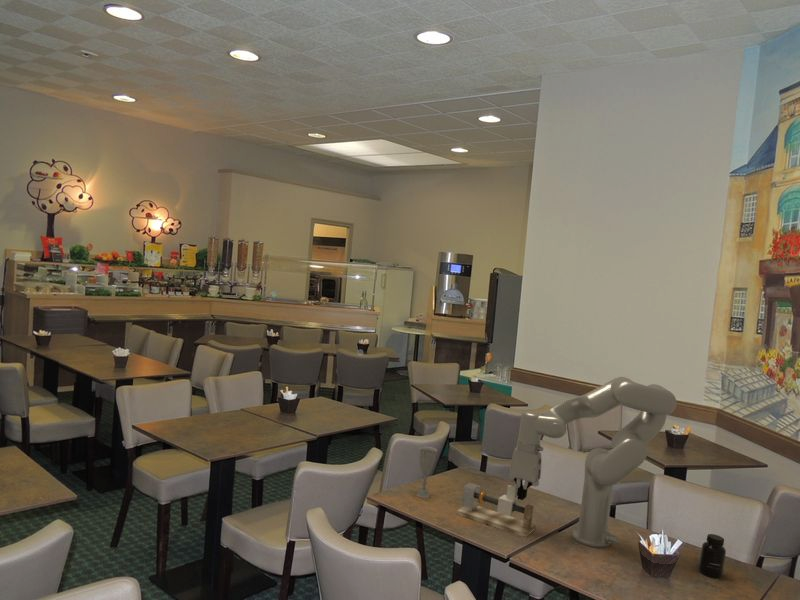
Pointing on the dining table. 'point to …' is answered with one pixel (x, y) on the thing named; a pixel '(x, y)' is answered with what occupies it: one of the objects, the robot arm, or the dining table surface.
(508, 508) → the sleeve
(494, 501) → the dark grey rod
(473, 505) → the connector
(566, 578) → the dining table surface
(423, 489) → the chalice
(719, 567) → the supplement bottle
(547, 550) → the dining table surface
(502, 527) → the beige rod holder
